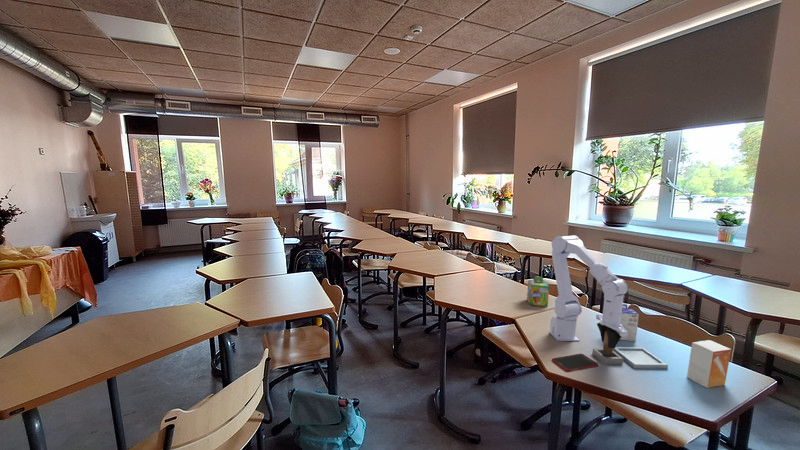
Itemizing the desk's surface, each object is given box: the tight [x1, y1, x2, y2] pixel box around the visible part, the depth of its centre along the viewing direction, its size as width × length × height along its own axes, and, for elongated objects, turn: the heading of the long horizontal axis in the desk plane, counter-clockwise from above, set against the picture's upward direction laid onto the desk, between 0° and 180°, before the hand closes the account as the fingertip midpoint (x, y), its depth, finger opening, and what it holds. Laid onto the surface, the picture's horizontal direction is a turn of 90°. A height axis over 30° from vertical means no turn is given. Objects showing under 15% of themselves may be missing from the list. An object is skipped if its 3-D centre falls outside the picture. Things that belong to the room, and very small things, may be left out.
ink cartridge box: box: [619, 303, 640, 342], centre depth 135 cm, size 10×6×14 cm, turn 78°
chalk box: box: [526, 276, 550, 307], centre depth 173 cm, size 9×9×15 cm
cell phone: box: [551, 353, 599, 373], centre depth 116 cm, size 8×15×1 cm, turn 106°
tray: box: [613, 346, 669, 370], centre depth 119 cm, size 12×12×2 cm
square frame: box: [592, 347, 624, 365], centre depth 119 cm, size 7×7×2 cm
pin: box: [602, 331, 613, 356], centre depth 118 cm, size 3×3×8 cm
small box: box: [686, 339, 732, 389], centre depth 105 cm, size 8×6×13 cm
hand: (608, 345), depth 118 cm, fingers closed on pin, 3 cm apart
